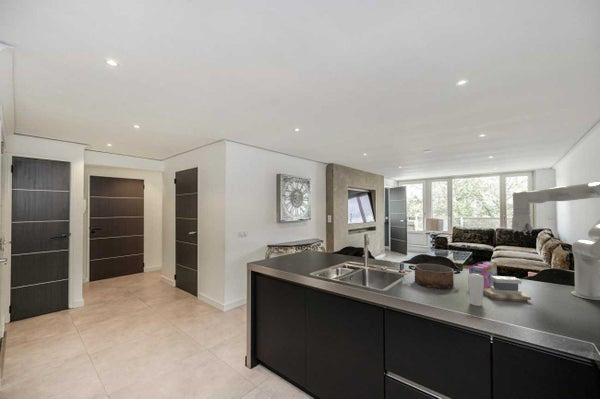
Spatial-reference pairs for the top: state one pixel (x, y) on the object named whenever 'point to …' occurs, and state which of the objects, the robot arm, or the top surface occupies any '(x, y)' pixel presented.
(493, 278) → the block
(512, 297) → the wavy cream panel
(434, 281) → the cooking pot
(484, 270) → the gum box
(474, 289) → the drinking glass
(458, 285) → the top surface
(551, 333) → the top surface
